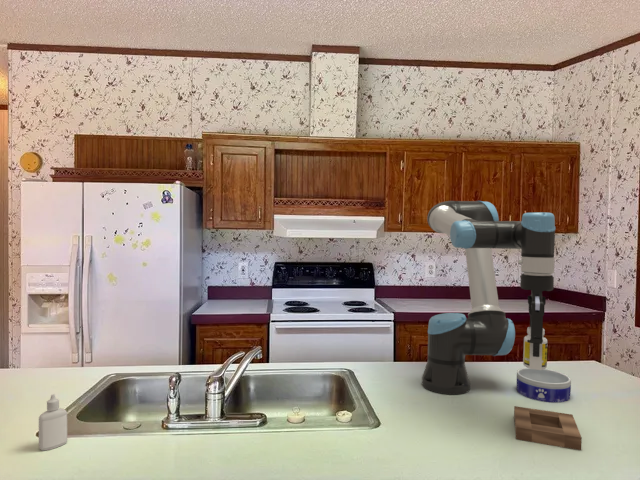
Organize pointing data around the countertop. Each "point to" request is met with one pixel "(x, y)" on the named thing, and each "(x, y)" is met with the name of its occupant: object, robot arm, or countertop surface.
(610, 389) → the countertop surface
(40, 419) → the eye dropper bottle
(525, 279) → the robot arm
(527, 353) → the supplement bottle
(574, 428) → the walnut socket block
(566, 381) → the dog bowl
